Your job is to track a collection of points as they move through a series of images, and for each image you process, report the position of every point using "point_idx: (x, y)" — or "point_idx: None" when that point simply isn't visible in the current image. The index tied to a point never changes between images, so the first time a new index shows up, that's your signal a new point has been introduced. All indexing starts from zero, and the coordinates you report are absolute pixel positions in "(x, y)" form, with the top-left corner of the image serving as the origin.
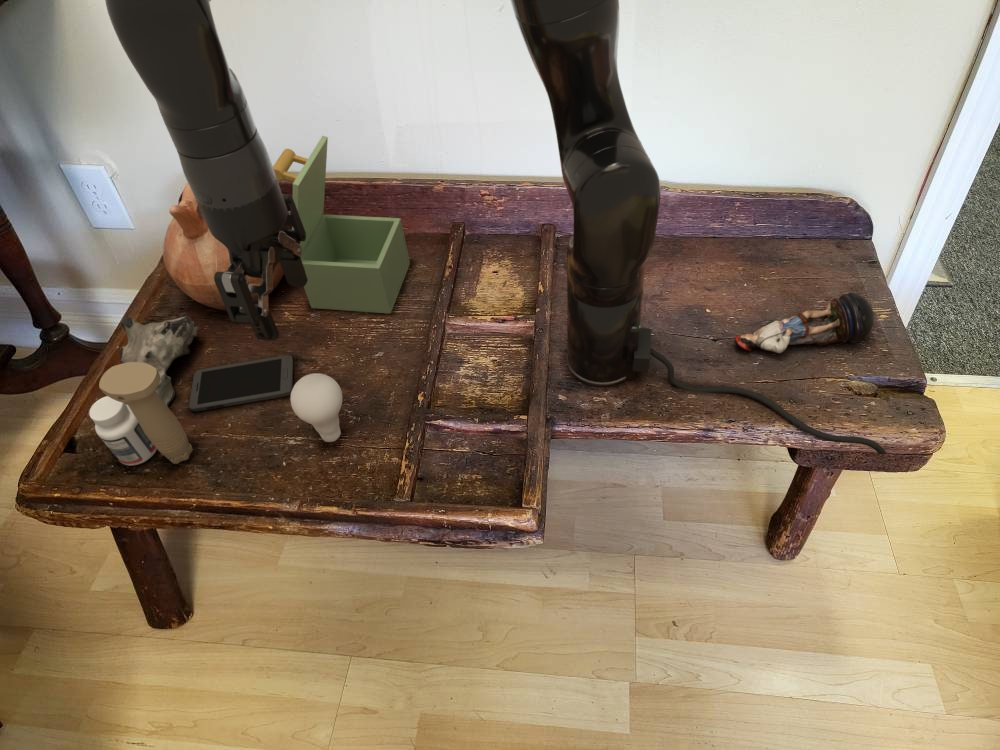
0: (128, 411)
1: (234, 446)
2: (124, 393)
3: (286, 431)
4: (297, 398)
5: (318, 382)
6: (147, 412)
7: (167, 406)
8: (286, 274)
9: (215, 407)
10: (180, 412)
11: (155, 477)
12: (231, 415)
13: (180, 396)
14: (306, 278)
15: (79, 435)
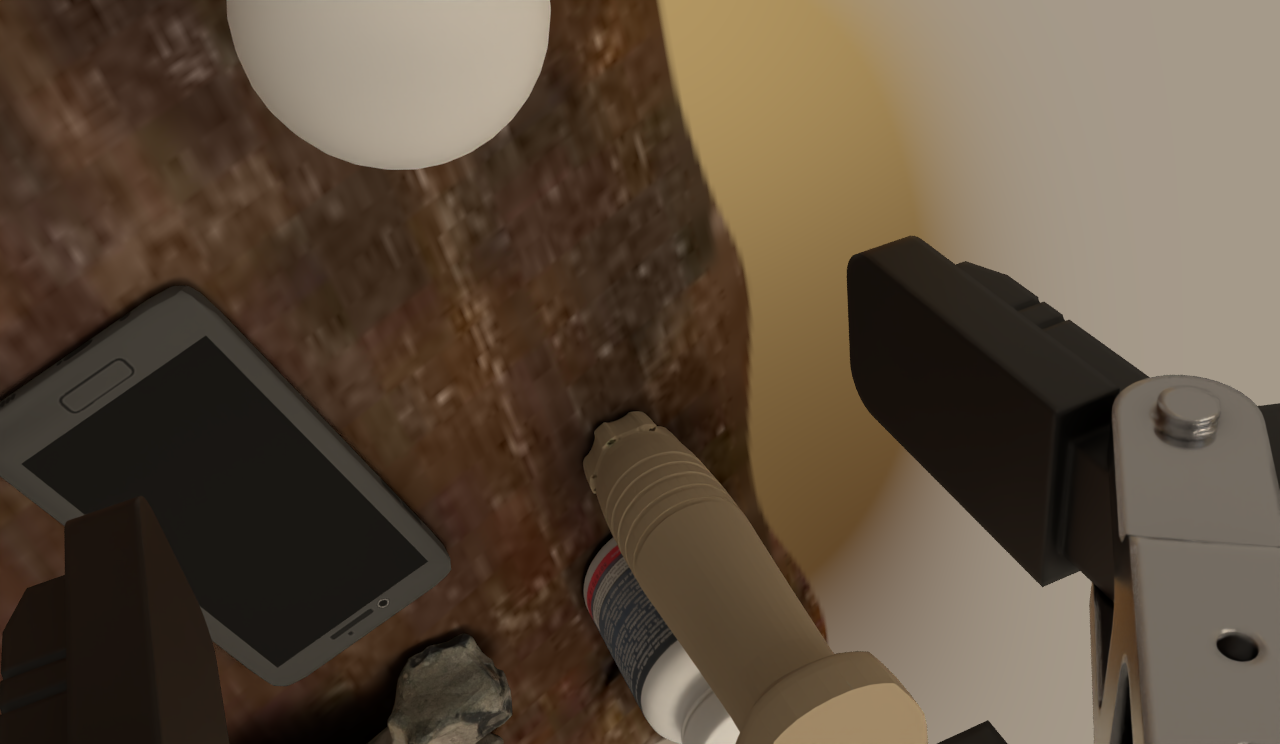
0: (693, 686)
1: (528, 308)
2: (922, 722)
3: None
4: (529, 73)
5: (406, 4)
6: (803, 612)
7: (468, 635)
8: (219, 722)
9: (400, 500)
10: (462, 584)
11: (723, 446)
12: (399, 424)
13: (397, 639)
14: (85, 541)
15: (649, 740)
